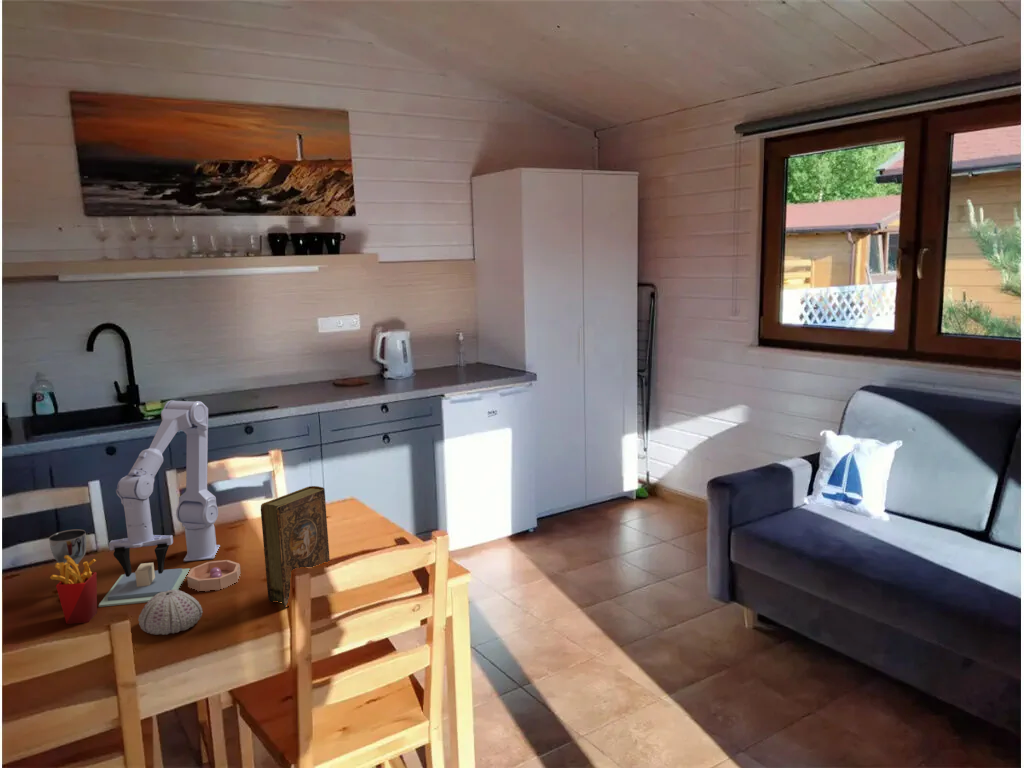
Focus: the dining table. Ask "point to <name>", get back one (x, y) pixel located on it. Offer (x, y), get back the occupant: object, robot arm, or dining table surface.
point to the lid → (145, 583)
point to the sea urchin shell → (170, 613)
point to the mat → (141, 599)
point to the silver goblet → (68, 545)
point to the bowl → (213, 575)
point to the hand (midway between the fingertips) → (145, 573)
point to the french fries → (77, 591)
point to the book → (293, 537)
